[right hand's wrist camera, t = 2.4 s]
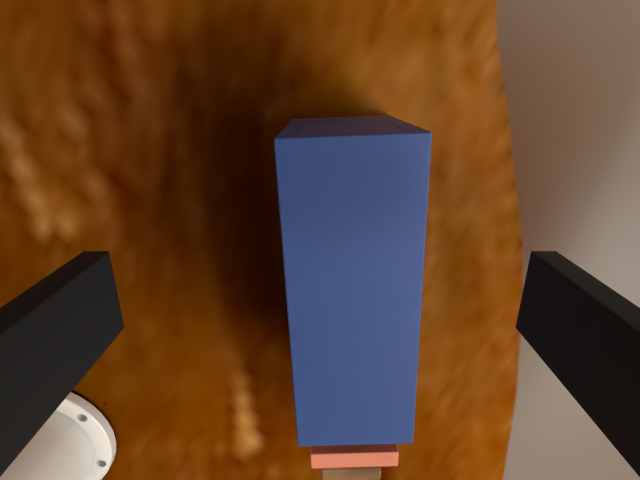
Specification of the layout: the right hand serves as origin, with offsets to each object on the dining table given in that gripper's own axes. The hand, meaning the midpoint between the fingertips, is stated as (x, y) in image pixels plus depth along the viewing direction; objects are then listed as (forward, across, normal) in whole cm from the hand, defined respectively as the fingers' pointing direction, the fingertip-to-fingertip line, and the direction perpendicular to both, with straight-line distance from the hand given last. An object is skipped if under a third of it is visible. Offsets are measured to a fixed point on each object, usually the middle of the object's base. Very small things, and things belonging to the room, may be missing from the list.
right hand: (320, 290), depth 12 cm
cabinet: (+17, +2, -4) cm, 17 cm away
